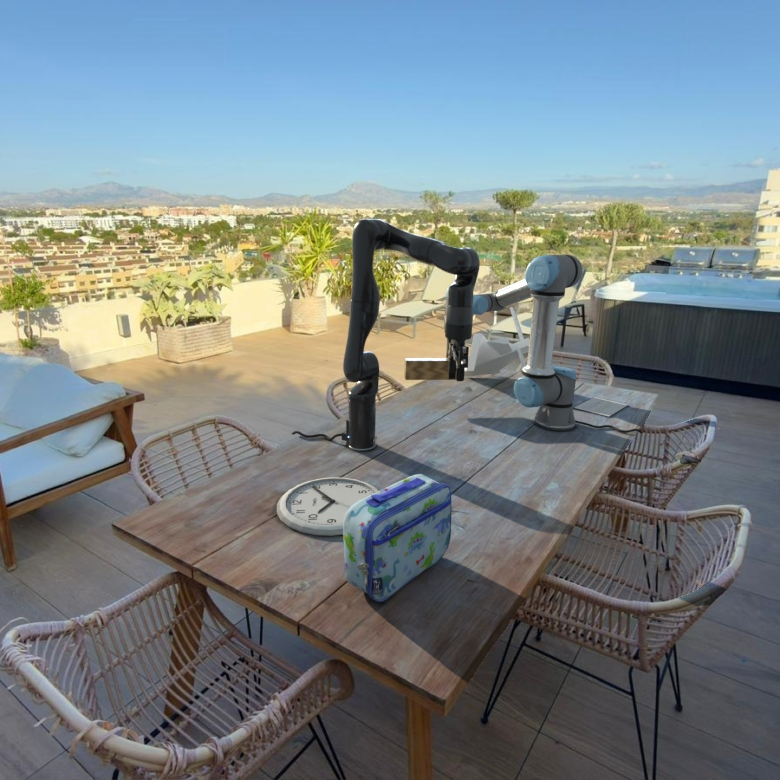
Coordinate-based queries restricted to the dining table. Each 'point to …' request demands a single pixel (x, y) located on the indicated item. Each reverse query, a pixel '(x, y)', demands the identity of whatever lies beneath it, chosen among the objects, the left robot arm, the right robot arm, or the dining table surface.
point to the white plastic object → (495, 352)
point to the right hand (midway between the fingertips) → (450, 376)
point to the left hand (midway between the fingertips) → (455, 376)
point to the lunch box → (396, 535)
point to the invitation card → (601, 406)
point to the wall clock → (321, 504)
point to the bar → (427, 369)
